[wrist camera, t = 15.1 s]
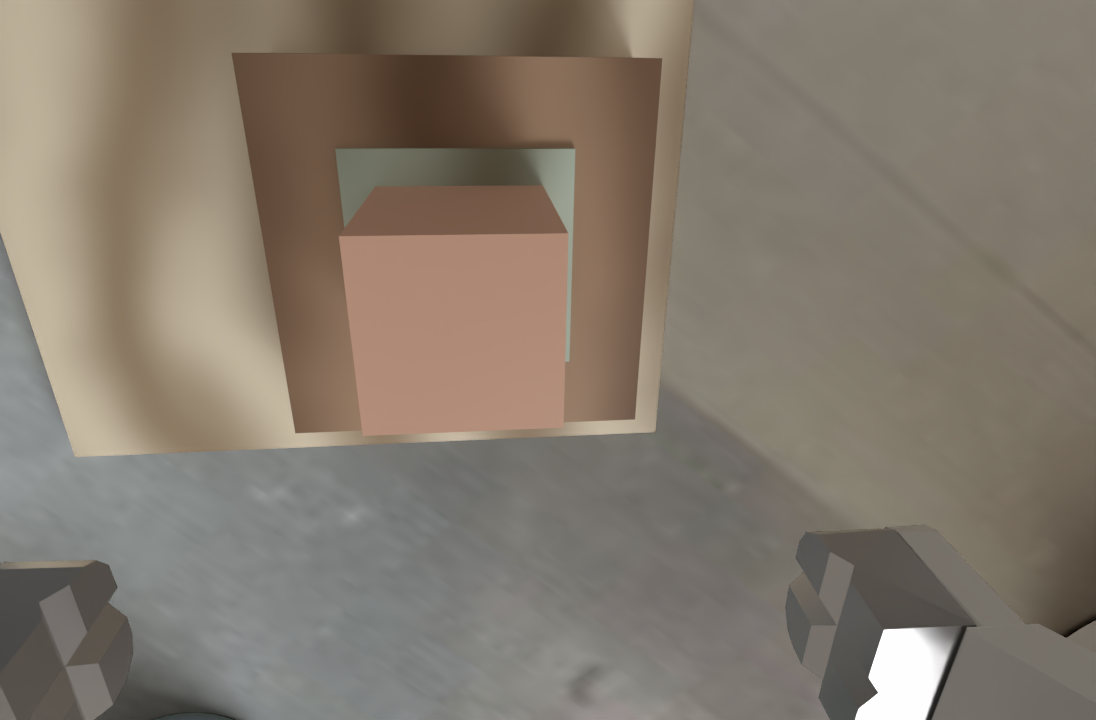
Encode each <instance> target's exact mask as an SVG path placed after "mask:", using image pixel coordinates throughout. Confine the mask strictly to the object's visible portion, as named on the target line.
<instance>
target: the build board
mask: <svg viewBox="0 0 1096 720" xmlns="http://www.w3.org/2000/svg"><path fill="white" fill-rule="evenodd" d="M693 10H694V0H0V232H1V235H2V238H3V242H4V245H5V248H6V251H7V254H8V257H9V260H10V263H11V266H12V269H13V272H14V275H15V278H16V281H17V284H18V287H19V290H20V293H21V296H22V299H23V302H24V305H25V308H26V311H27V314H28V317H29V320H30V323H31V326H32V329H33V332H34V335H35V338H36V341H37V344H38V347H39V350H40V353H41V356H42V359H43V362H44V365H45V368H46V371H47V374H48V377H49V380H50V383H51V386H52V389H53V392H54V395H55V398H56V401H57V404H58V407H59V410H60V413H61V416H62V419H63V422H64V425H65V428H66V431H67V434H68V437H69V440H70V443H71V446H72V449H73V452H74V455H75V457H87V456H110V455H133V454H156V453H180V452H203V451H226V450H250V449H273V448H296V447H319V446H343V445H366V444H389V443H413V442H436V441H459V440H482V439H506V438H529V437H552V436H576V435H599V434H622V433H645V432H655V428H656V417H657V406H658V395H659V384H660V373H661V362H662V351H663V340H664V329H665V318H666V307H667V296H668V285H669V274H670V263H671V252H672V241H673V230H674V219H675V208H676V197H677V186H678V175H679V164H680V153H681V142H682V131H683V120H684V109H685V98H686V87H687V76H688V65H689V54H690V43H691V32H692V21H693ZM509 185H543V186H544V188H545V190H546V192H547V194H548V196H549V198H550V200H551V201H552V203H553V205H554V207H555V209H556V211H557V213H558V215H559V216H560V218H561V220H562V222H563V224H564V226H565V228H566V230H567V231H568V233H569V234H568V273H567V313H566V352H565V392H564V428H544V429H520V430H496V431H471V432H447V433H423V434H399V435H375V436H363V435H362V427H361V418H360V410H359V402H358V393H357V385H356V376H355V368H354V360H353V351H352V343H351V335H350V326H349V318H348V310H347V301H346V293H345V284H344V276H343V268H342V259H341V251H340V243H339V235H340V234H341V233H342V231H343V230H344V228H345V227H346V226H347V224H348V223H349V222H350V220H351V219H352V217H353V216H354V215H355V213H356V212H357V211H358V209H359V208H360V207H361V205H362V204H363V202H364V201H365V200H366V198H367V197H368V196H369V194H370V193H371V192H372V190H373V189H374V187H375V186H509Z"/></svg>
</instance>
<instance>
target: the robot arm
mask: <svg viewBox="0 0 1096 720" xmlns="http://www.w3.org/2000/svg"><path fill="white" fill-rule="evenodd" d="M796 559H797V561H798V563H799V564H800V566H801V568H802V569H803V571H804V572H803V573H802V574H801V575H800V576H799V577H798V578H797V579H796V580H794V581H793V582H792V583H791V584H790V585H789V589H788V595H787V600H786V606H785V608H786V619H787V629H788V633H789V636H790V639H791V642H792V645H793V648H794V650H795V652H796V654H797V656H798V658H799V660H800V662H801V664H802V665H803V666H804V667H805V668H807V669H808V670H810V671H811V672H812V673H814V674H815V675H816V676H818V677H819V678H820V679H822V680H823V681H822V685H821V689H820V694H819V699H820V701H821V703H822V705H823V707H824V709H825V711H826V713H827V715H828V716H829V718H830V720H1096V620H1095V621H1093V622H1092V623H1090V624H1088V625H1086V626H1084V627H1083V628H1081V629H1079V630H1078V631H1076V632H1075V633H1073V634H1072V635H1070V636H1069V637H1067V638H1066V637H1064V636H1062V635H1060V634H1058V633H1056V632H1054V631H1052V630H1050V629H1048V628H1046V627H1044V626H1042V625H1040V624H1025V623H1024V622H1023V621H1022V620H1021V619H1020V618H1019V616H1018V615H1017V614H1016V613H1015V612H1014V611H1013V610H1012V609H1011V608H1010V607H1009V606H1008V605H1007V604H1006V603H1005V602H1004V601H1003V600H1002V599H1001V597H1000V596H999V595H998V594H997V593H996V592H995V591H994V590H993V589H992V588H991V587H990V586H989V585H988V584H987V583H986V582H985V581H984V580H983V578H982V577H981V576H980V575H979V574H978V573H977V572H976V571H975V570H974V569H973V568H972V567H971V566H970V565H969V564H968V563H967V562H966V561H965V559H964V558H963V557H962V556H961V555H960V554H959V553H958V552H957V551H956V550H955V549H954V548H953V547H952V546H951V545H950V544H949V543H948V542H947V540H946V539H945V538H944V537H943V536H942V535H941V534H940V533H939V532H938V531H936V530H935V529H933V528H931V527H929V526H927V525H913V526H896V527H885V528H884V529H881V528H877V529H855V530H834V531H813V532H806V533H805V534H804V536H803V537H802V538H801V540H800V541H799V545H798V549H797V553H796ZM116 589H117V585H116V583H115V580H114V577H113V575H112V572H111V570H110V567H109V565H108V564H105V563H102V562H99V561H96V560H91V561H36V562H4V563H0V720H94V719H95V718H97V717H98V716H99V715H101V714H102V713H103V712H105V711H106V710H107V709H108V708H110V707H111V706H112V705H113V704H114V702H115V701H116V699H117V697H118V695H119V693H120V691H121V689H122V688H123V686H124V684H125V682H126V679H127V675H128V671H129V667H130V663H131V659H132V655H133V643H132V632H131V628H130V625H129V622H128V618H127V617H126V616H125V615H124V614H122V613H121V612H120V611H118V610H117V609H116V608H114V607H113V606H112V605H110V604H109V603H108V602H109V600H110V599H111V597H112V595H113V594H114V592H115V591H116Z"/></svg>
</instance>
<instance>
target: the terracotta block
mask: <svg viewBox="0 0 1096 720" xmlns="http://www.w3.org/2000/svg"><path fill="white" fill-rule="evenodd" d="M568 234H569V233H568V231H567V230H566V228H565V226H564V224H563V222H562V220H561V218H560V216H559V215H558V213H557V211H556V209H555V207H554V205H553V203H552V201H551V200H550V198H549V196H548V194H547V192H546V190H545V188H544V186H543V185H509V186H375V187H374V189H373V190H372V192H371V193H370V194H369V196H368V197H367V198H366V200H365V201H364V202H363V204H362V205H361V207H360V208H359V209H358V211H357V212H356V213H355V215H354V216H353V217H352V219H351V220H350V222H349V223H348V224H347V226H346V227H345V228H344V230H343V231H342V233H341V234H340V235H339V243H340V251H341V259H342V268H343V276H344V284H345V293H346V301H347V310H348V318H349V326H350V335H351V343H352V351H353V360H354V368H355V376H356V385H357V393H358V402H359V410H360V418H361V427H362V435H363V436H375V435H399V434H423V433H447V432H471V431H496V430H520V429H544V428H564V392H565V352H566V313H567V273H568Z"/></svg>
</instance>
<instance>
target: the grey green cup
mask: <svg viewBox="0 0 1096 720" xmlns="http://www.w3.org/2000/svg"><path fill="white" fill-rule="evenodd" d="M154 720H234V719H230V718H227V717H223V716H219V715H215V714H205V713H181V714H173V715H168V716H163V717H160V718H157V719H154Z"/></svg>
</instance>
